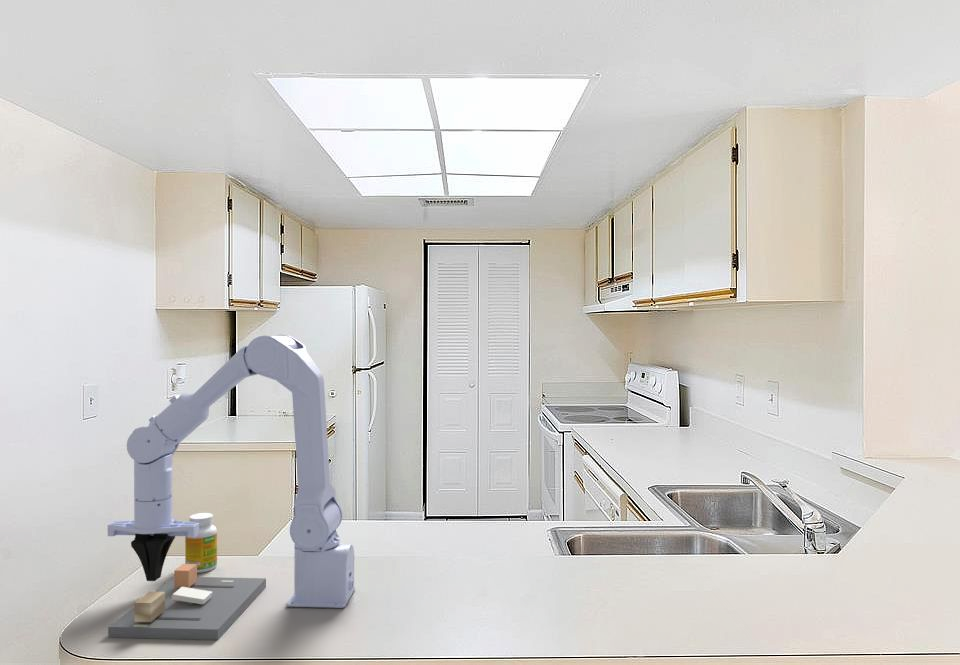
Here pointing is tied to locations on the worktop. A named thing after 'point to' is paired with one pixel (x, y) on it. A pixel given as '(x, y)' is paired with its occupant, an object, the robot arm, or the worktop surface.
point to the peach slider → (185, 575)
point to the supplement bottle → (202, 544)
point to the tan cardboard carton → (149, 606)
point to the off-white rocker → (192, 595)
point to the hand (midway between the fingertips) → (153, 578)
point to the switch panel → (194, 611)
